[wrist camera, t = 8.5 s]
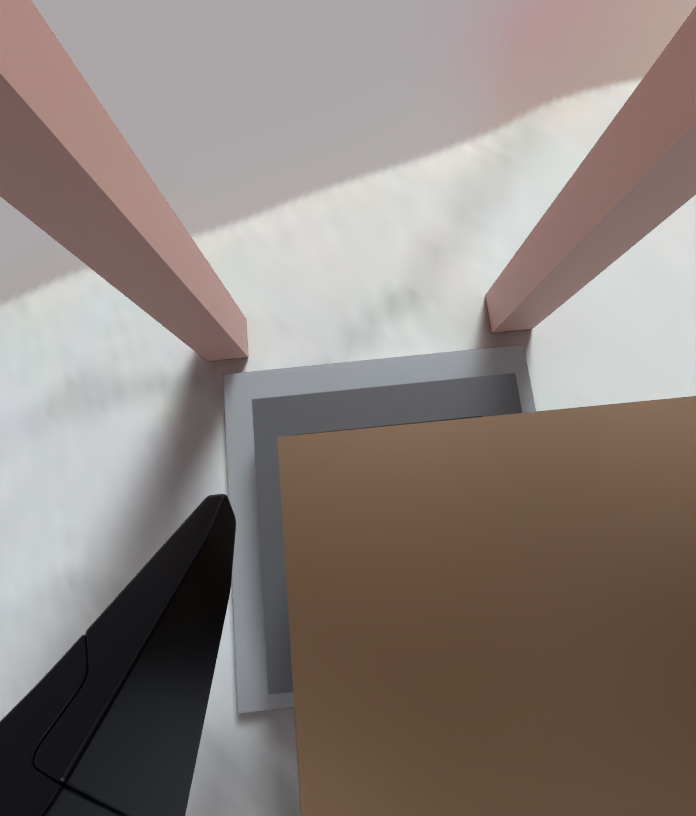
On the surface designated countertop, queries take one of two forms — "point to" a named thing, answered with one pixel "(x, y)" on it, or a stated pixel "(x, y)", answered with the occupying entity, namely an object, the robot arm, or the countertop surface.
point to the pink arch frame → (190, 271)
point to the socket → (316, 413)
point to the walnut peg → (495, 614)
